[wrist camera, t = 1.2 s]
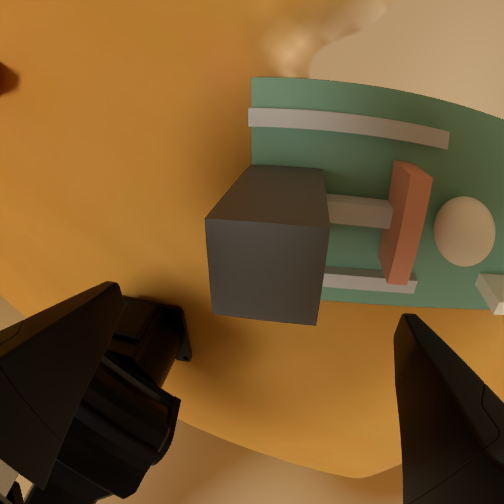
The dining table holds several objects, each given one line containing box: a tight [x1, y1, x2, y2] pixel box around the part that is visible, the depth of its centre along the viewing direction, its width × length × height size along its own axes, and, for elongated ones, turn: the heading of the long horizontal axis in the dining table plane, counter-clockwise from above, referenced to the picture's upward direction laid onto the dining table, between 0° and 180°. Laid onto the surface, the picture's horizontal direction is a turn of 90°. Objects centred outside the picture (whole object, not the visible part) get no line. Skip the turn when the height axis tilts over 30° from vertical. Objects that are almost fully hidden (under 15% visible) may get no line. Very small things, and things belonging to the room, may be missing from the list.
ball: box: [434, 196, 496, 267], centre depth 14 cm, size 4×4×4 cm
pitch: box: [248, 77, 504, 315], centre depth 15 cm, size 14×24×4 cm, turn 90°
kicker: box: [205, 160, 433, 326], centre depth 13 cm, size 6×9×8 cm, turn 90°
